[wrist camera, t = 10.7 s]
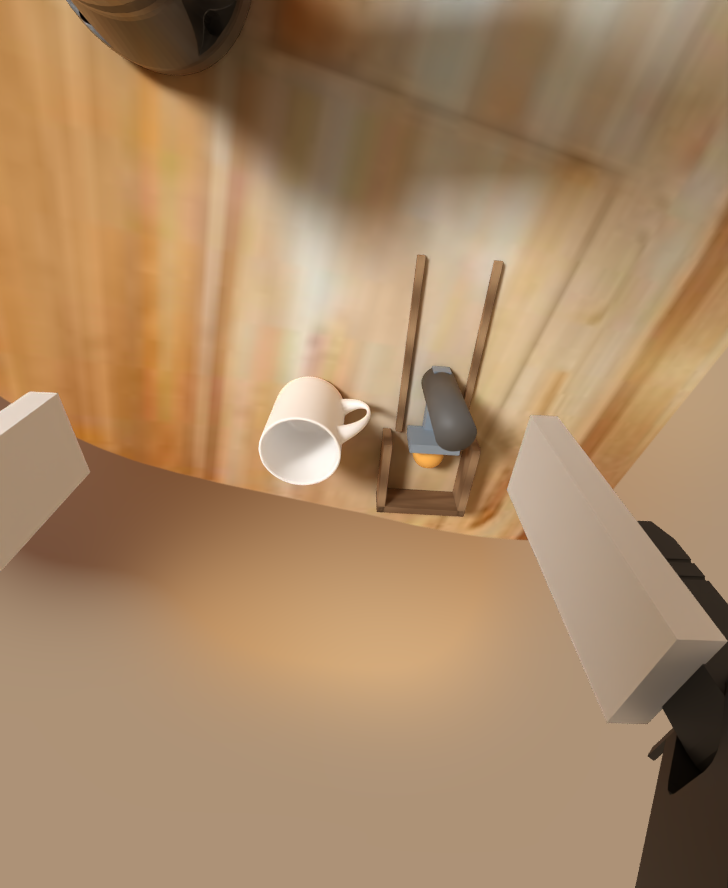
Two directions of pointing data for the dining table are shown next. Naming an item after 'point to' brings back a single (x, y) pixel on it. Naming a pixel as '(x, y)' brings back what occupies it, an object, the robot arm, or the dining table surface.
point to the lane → (412, 329)
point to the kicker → (442, 417)
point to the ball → (427, 459)
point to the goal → (424, 499)
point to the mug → (308, 431)
